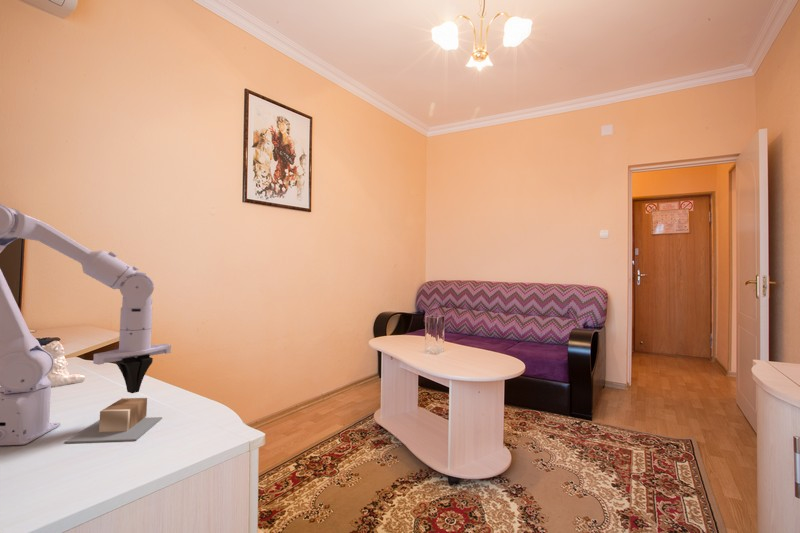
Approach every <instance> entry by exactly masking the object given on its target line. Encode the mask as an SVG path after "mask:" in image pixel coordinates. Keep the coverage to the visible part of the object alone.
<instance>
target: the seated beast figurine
mask: <svg viewBox="0 0 800 533" xmlns="http://www.w3.org/2000/svg"><path fill="white" fill-rule="evenodd" d="M40 346H41V347H42V348H43V349H44V350H45V351H47V352H49V353H50V354H51V355H52V357H53V360H54V365H53V368H52V370H51V371H50V372H49V373H48V374H47V375H46V376H47V377H48V379H49V380H50V381H51V388H55V386H57V387H60V386H61V387H62V385H63V386H68V385H69V386H70V385H75V384H79V383H83V382H84V381H85V378H86V377H85V375H83V374H79V373H76V372H75V373H73V374H70V372H69V370H68V366H69V363H68V361H67V359H66V357H65V354H66V352H65V348H64V346H63V344H62V343H60V341H59V340H53V341H51V342H49V343H47V344H46V345H40Z"/></svg>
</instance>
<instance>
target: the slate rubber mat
mask: <svg viewBox="0 0 800 533" xmlns="http://www.w3.org/2000/svg"><path fill="white" fill-rule="evenodd" d="M162 419H163V417H160V416H159V417H152V416H151V417H145V418H144V419H142V420H141V421H140V422H138V423H137V424H136V425H134V426H133V427H132V428H130V429H129V430H128V431H113V432H99V423H100V419H98V420H97V421H95V422H94V423H92V424H90V425H88V426H87V427H86V428H84V429H83V430H81V431H79V432H78V433H76V434H74V435H73V436H72V437H70V438H68V439H67V440H65V441H64V444H78V443H80V444H81V443H82V444H83V443H105V442H106V443H107V442H136V441H137V440H138V439H140V438H141V437H142V436H144V435H145V434H146V433H147V432H149V430H151V429H152V428H153V427H154V426H155V425H156V424H157V423H159V422H160V421H161V420H162Z"/></svg>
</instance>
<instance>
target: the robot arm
mask: <svg viewBox="0 0 800 533" xmlns="http://www.w3.org/2000/svg"><path fill="white" fill-rule="evenodd" d="M18 239H23V240H29V241H36V242H37V241H38V242H40V243H42V244H43V245H46V246H47V247H49V248H51V249H53V250H56V251H57V252H59V253H61V254H62V255H64V256H66V257H68V258H70V259H72V260H74V261H76V262H78V263H80V265H81V268H82V272H83V273H84V274H85V275H87V276H89V277H91V278H92V279H95V280H96V281H98V282H100V283H102V284H104V285H105V286H106V287H108V288H111V289H113V290H119V291H120V294H121V296H122V303H121V304H122V305H121V307H120V314H119V315H120V316H119V319H120V320H119V336H118V337H119V339H118V340H119V341H118V349H112V350H108V351H104V352H97V353H94V354H93V361H92V362H93V365H104V364H107V363H112V362H113V363H114V362H115V364H116V366H117V367H118V369H119V370H120V373H121V374H122V376H123V379H124V383H125V386H126V392H127V393H130V394H134V393H136V394H137V393H139V392H140V388H141V385H142V382H143V380H144V377H145V376H146V373H147V372H148V369H149V368H150V366H151V365H152V364H153V362H154V361H153V359H154V358H153V357H151V356H155V355H156V356H157V355H162V354H165V355H167V354H171V352H172V351H171V349H172V345H171V344H169V343H161V344H152V328H153V327H152V325H153V323H152V322H153V306H152V304H153V298H152V295H153V292H154V290H155V289H154V288H155V287H154V285H155V284H154V282H153V280H152V278H151V277H150V276H148V275H147V274H146V273H145V272H139V271H138V270H139V267H137V266H136V265H134V266H131V265H129V264H128V263H126V262H125V261H123V260H121V259H120V258H118V257H117V256H118V255H117V254H116V253H115V252H113V251H109V252H108V251H106V250H95V251H92V250H91V249H89V248H87V247H86V246H84V245H83V244H81V243H79V242H78V241H76V240H74V239H73V238H72V237H70V236H68V235H67V234H65V233H64V232H62V231H60V230H58V229H56V228H55V227H53V226H52V225H51V224H48V223H47V222H45V221H42V220H40V219H37V218H35V217H33V216H30V215H28V214H25V213H23V212H21V211H20V210H18V209H16V208H15V209H14V208H12V207H11V208H10V207H8V206H6V204H5V205H4V204H2V203H0V254H1V253H2V252H3V251H4V249H6V247H7V246H8V245H9V244H11V243H12V242H14V241H17V240H18ZM29 329H30V328H28V325H27V323H26V321H25V319H24V317H23V314H22V312H21V309H20V307H19V306H18V304H17V302H16V299H15V297H14V295H13V293H12V290H11V288H10V286H9V285H8V281H7V280H6V277H5V276H4V274H3V271H2V269H1V268H0V446H19V445H20V446H22V445H26V444H29V443H30V442H32V441H34V440H36V439H38V438H39V437H41V436H43V435H46V434H47V433H49V432H50V431H52V430H54V429H55V428H58V427H60V426H61V422H50V415H51V413H50V412H51V396H52V395H51V394H52V387H51V381H50V380H49V379H48V377H47V376H46V375H47V374H48V373H49V372H50V371H51V370H52V368H53V365H54V360H53V357H52V355H51V354H50V353H49V352H47V351H45V350H44V349H43V348H42V347H41V346H42V345H41V343H40V342H39V340H38V339H37V338H36V337H34V335H33V334H32V333H31V331H30V330H29Z"/></svg>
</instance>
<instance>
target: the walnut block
mask: <svg viewBox="0 0 800 533" xmlns="http://www.w3.org/2000/svg"><path fill="white" fill-rule="evenodd" d="M147 407H148V397H128V398H127V397H126V398H125V397H124V398H123V397H122V398H120V399H119V400H116V401H115V402H113V403H111V404H110V405H109V406H107V407H105V408H103V409H101V410H100V411H99V420H100V423H99V432H113V431H128V430H129V429H130V428H132V427H133V426H134V425H136V424H137V423H138V422H140V421H141V420H142V419H144V418H147V411H148V410H147Z"/></svg>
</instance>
